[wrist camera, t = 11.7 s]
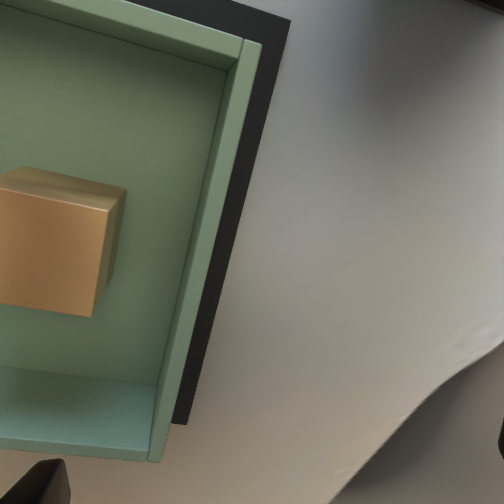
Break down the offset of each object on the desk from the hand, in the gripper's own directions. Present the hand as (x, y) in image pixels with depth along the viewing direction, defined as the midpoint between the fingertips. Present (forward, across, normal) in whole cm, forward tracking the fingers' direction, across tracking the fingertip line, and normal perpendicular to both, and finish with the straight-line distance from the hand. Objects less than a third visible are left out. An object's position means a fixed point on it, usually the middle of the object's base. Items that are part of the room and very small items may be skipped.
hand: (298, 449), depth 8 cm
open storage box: (+12, +7, -2) cm, 14 cm away
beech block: (+11, +7, -2) cm, 13 cm away
